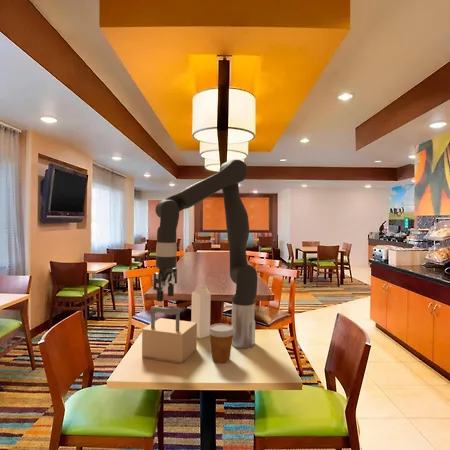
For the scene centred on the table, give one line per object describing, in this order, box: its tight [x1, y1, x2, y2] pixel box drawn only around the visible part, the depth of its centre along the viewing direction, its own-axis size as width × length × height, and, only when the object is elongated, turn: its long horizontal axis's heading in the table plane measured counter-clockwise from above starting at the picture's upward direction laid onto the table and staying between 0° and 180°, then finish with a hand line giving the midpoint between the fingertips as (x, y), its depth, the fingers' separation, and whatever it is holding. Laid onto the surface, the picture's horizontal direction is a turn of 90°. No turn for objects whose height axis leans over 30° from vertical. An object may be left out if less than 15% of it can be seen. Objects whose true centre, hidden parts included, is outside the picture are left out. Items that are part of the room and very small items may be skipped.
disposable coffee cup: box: [208, 323, 234, 364], centre depth 125 cm, size 10×10×12 cm
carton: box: [141, 324, 198, 365], centre depth 130 cm, size 16×14×10 cm
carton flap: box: [141, 305, 197, 336], centre depth 129 cm, size 16×14×9 cm
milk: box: [190, 284, 212, 340], centre depth 149 cm, size 6×6×22 cm
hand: (165, 298), depth 125 cm, fingers open, 8 cm apart
